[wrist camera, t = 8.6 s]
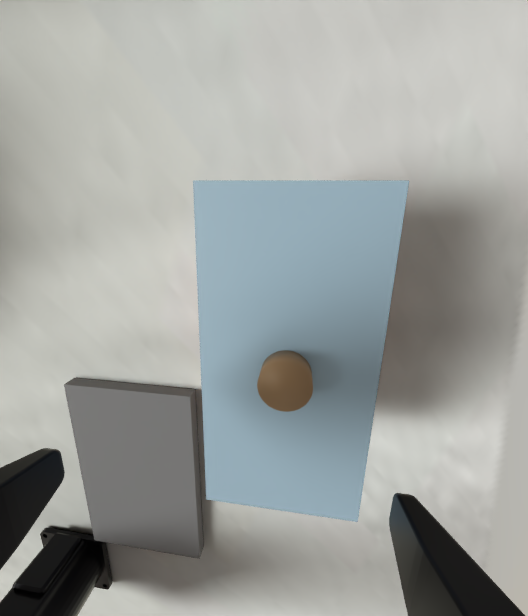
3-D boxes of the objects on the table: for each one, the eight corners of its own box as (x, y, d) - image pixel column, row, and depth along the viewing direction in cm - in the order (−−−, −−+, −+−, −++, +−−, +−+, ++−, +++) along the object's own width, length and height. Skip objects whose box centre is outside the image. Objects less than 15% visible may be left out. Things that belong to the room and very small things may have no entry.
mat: (203, 545, 24) (199, 558, 23) (102, 528, 26) (94, 540, 25) (195, 389, 20) (190, 396, 19) (74, 377, 21) (64, 384, 20)
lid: (348, 474, 14) (362, 546, 11) (221, 458, 15) (198, 520, 12) (385, 192, 11) (423, 173, 7) (215, 192, 12) (180, 174, 8)
